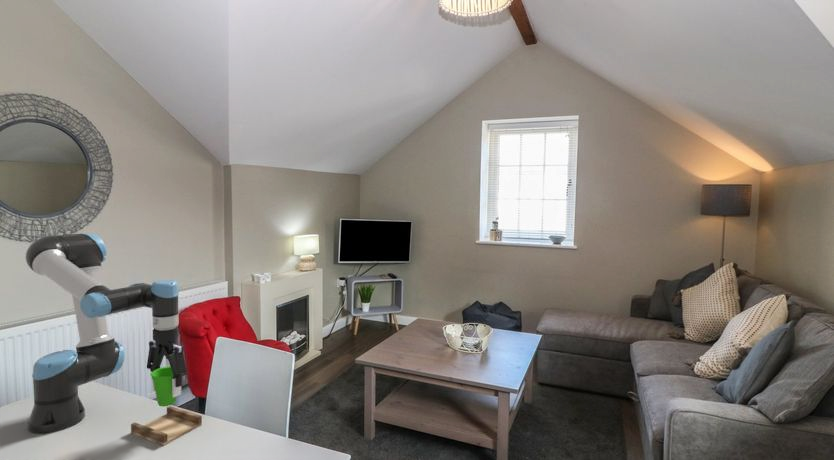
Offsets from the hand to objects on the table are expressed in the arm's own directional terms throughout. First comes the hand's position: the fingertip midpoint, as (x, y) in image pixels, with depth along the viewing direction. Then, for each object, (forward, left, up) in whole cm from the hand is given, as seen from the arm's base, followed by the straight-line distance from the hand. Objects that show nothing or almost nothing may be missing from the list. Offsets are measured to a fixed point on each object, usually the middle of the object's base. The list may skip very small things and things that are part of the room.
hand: (166, 392), depth 147 cm
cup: (0, 0, -4) cm, 4 cm away
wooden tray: (0, 0, -13) cm, 13 cm away
